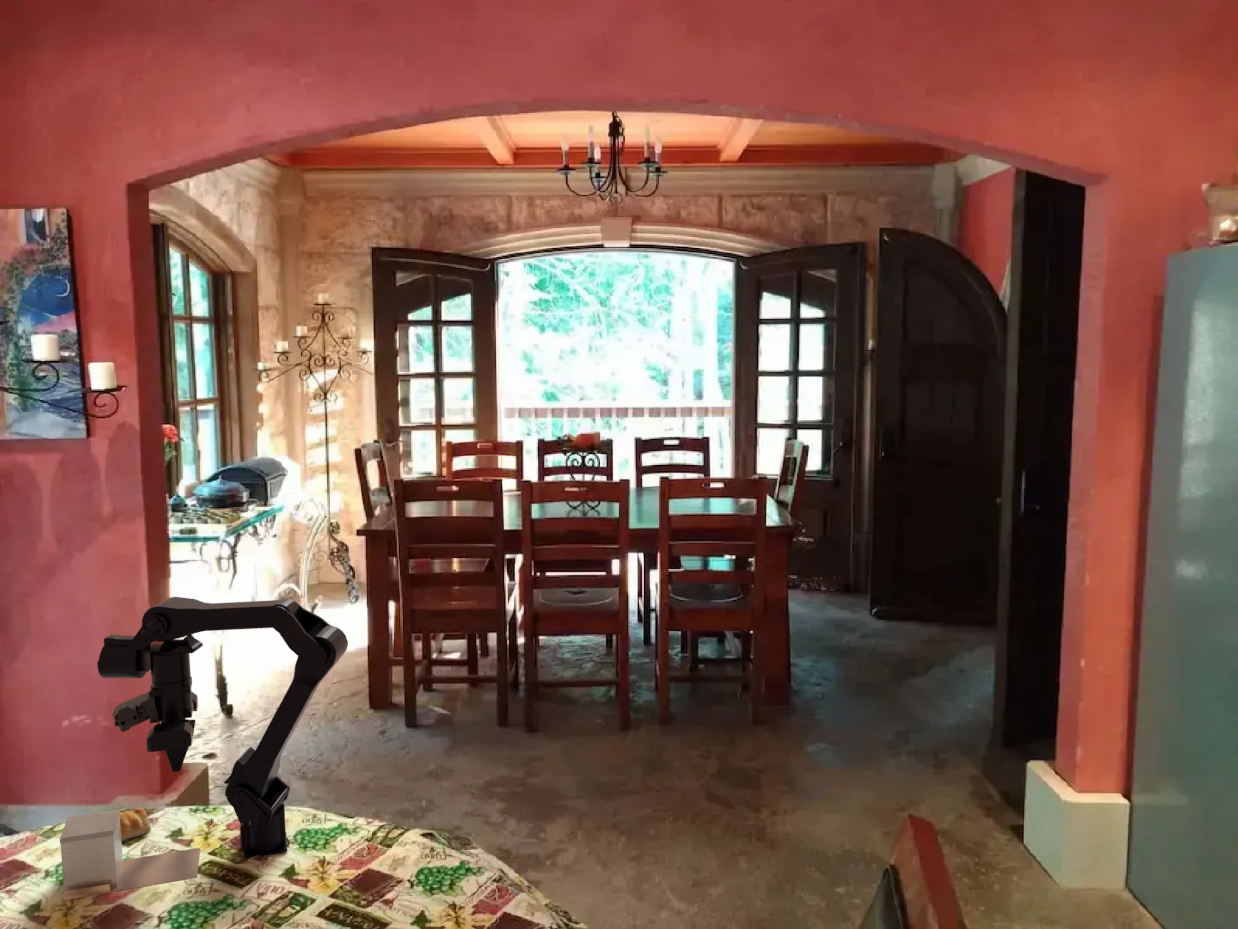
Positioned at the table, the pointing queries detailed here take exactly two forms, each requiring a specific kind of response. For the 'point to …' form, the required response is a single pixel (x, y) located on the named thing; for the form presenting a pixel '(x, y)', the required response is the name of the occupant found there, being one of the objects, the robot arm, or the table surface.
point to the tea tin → (91, 850)
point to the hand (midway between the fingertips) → (176, 770)
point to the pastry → (134, 823)
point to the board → (148, 872)
